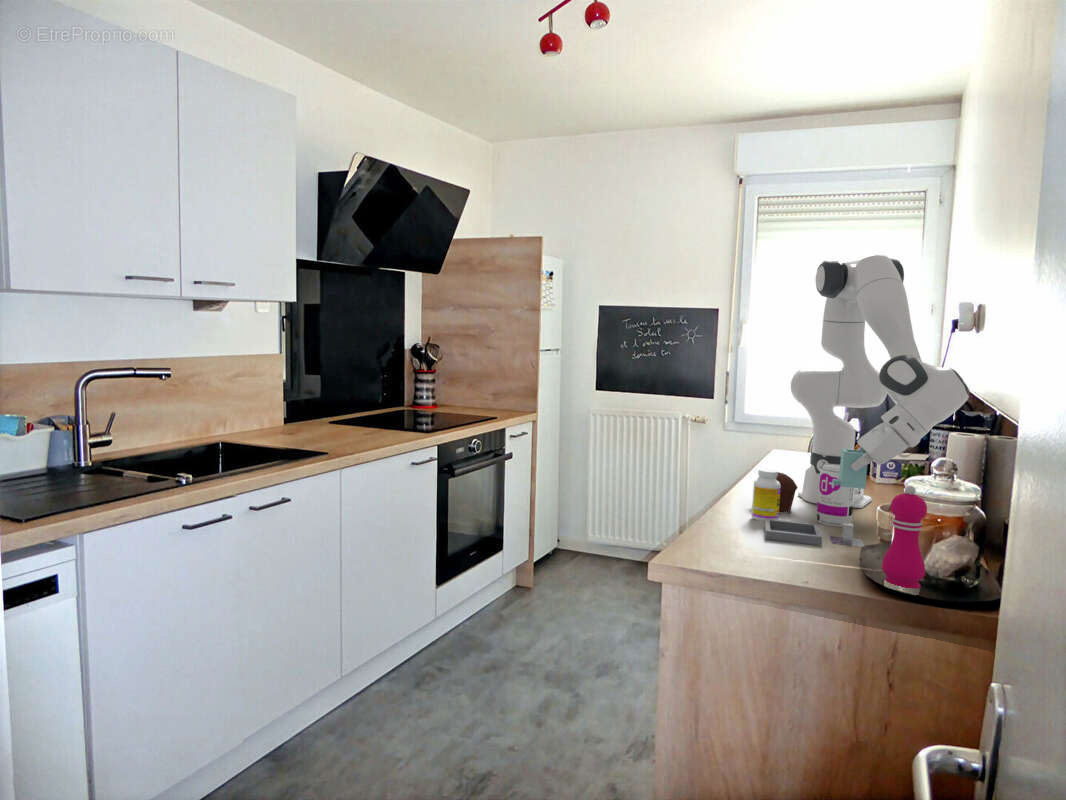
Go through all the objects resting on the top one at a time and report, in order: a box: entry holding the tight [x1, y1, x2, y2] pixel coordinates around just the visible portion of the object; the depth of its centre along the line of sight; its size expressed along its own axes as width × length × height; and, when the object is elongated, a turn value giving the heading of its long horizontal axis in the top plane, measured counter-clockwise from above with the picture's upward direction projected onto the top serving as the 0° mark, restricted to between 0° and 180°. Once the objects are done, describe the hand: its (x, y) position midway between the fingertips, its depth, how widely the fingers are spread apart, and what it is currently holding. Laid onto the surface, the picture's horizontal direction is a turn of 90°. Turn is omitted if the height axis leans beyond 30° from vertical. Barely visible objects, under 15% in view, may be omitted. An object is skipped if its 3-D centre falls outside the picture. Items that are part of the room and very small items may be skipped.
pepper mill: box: [881, 485, 928, 589], centre depth 136 cm, size 7×7×20 cm
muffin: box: [757, 471, 798, 513], centre depth 201 cm, size 12×11×10 cm
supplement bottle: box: [751, 468, 781, 522], centre depth 188 cm, size 7×7×13 cm
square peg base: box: [829, 523, 865, 548], centre depth 169 cm, size 7×7×4 cm
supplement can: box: [815, 464, 854, 528], centre depth 186 cm, size 8×8×15 cm
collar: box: [833, 449, 868, 490], centre depth 168 cm, size 5×6×8 cm
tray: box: [764, 519, 823, 547], centre depth 171 cm, size 12×12×2 cm
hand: (850, 466), depth 168 cm, fingers closed on collar, 5 cm apart
